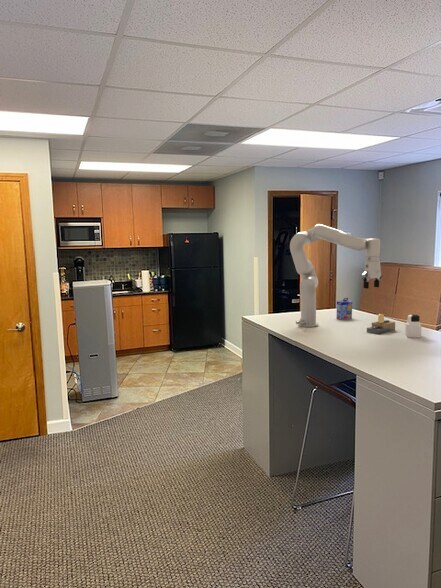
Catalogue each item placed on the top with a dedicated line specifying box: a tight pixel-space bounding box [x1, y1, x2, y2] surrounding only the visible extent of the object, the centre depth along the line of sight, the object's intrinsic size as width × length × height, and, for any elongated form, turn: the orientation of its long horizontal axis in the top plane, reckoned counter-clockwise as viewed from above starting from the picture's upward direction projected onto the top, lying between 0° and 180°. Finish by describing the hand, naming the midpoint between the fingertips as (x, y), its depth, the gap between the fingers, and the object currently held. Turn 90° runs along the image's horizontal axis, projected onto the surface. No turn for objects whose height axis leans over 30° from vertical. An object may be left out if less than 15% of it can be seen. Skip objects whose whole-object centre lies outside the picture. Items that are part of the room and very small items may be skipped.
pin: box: [377, 313, 385, 324], centre depth 250 cm, size 3×3×10 cm
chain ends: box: [366, 319, 396, 335], centre depth 250 cm, size 16×8×6 cm, turn 125°
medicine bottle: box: [404, 314, 422, 339], centre depth 235 cm, size 7×7×12 cm
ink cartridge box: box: [335, 297, 353, 321], centre depth 291 cm, size 10×6×14 cm, turn 115°
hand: (371, 287), depth 255 cm, fingers open, 9 cm apart
